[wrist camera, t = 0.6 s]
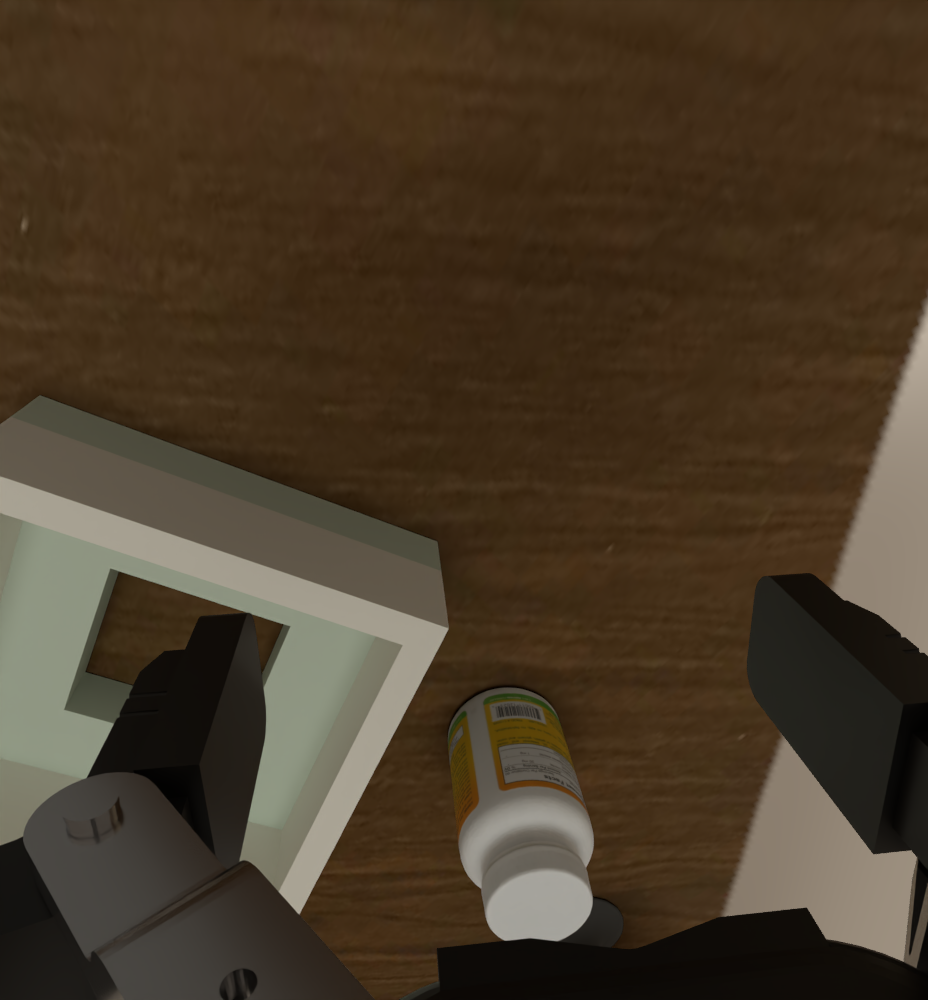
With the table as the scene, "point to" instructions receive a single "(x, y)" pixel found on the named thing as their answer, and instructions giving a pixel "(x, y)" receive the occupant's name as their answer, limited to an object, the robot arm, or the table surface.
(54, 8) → the table surface
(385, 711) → the bore box
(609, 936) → the sundae
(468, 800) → the supplement bottle
